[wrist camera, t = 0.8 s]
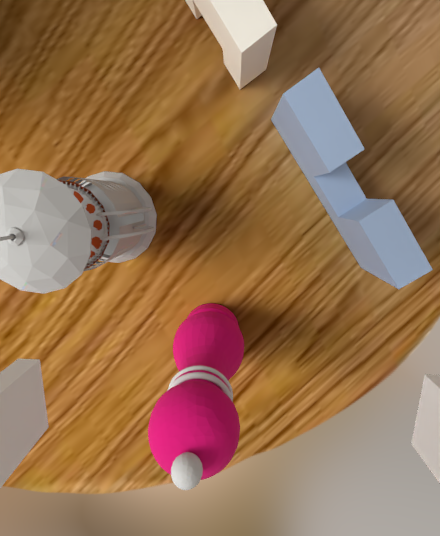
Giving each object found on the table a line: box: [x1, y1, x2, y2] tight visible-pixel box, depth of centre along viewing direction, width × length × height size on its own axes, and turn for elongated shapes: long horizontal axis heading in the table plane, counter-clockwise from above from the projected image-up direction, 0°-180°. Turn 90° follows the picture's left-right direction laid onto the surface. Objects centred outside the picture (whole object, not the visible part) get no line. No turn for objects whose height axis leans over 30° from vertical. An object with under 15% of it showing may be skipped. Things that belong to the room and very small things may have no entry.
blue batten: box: [271, 68, 433, 289], centre depth 28 cm, size 18×3×8 cm, turn 34°
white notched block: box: [185, 0, 277, 89], centre depth 25 cm, size 10×3×8 cm, turn 34°
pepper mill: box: [148, 303, 244, 490], centre depth 26 cm, size 7×7×20 cm
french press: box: [0, 169, 157, 293], centre depth 21 cm, size 10×12×25 cm
